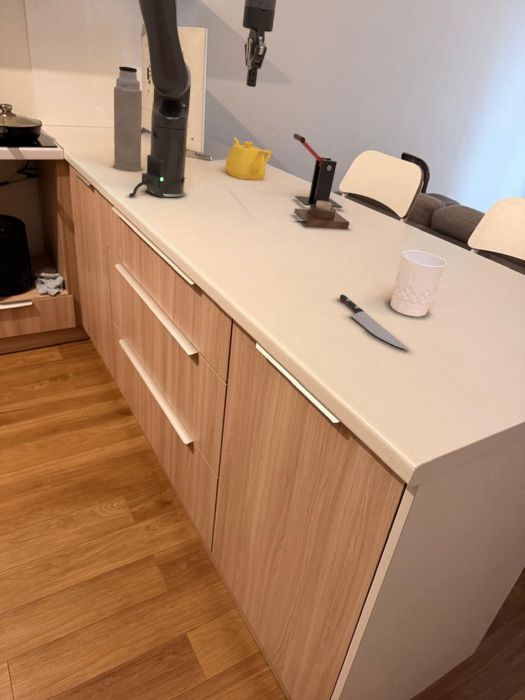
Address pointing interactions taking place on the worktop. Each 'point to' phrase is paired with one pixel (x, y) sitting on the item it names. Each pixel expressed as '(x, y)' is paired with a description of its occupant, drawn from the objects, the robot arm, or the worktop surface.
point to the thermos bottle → (127, 120)
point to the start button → (323, 205)
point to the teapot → (247, 161)
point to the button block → (321, 218)
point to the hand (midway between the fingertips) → (250, 86)
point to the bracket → (321, 183)
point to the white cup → (416, 282)
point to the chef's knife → (371, 324)
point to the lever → (308, 147)
